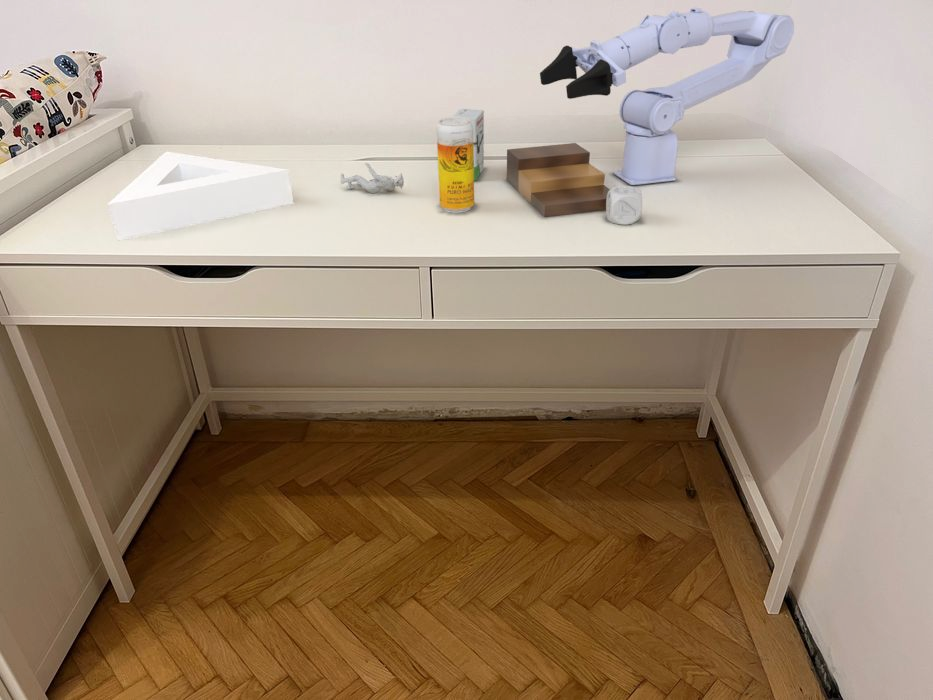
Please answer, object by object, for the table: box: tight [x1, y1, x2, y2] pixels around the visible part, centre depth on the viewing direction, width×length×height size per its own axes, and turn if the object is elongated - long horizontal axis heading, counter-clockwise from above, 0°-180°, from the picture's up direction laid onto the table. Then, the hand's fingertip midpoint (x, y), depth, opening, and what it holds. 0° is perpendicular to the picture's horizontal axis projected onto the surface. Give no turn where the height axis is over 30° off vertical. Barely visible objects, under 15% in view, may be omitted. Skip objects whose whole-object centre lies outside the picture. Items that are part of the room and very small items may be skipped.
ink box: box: [452, 108, 485, 181], centre depth 136 cm, size 9×5×12 cm, turn 168°
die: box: [605, 185, 643, 226], centre depth 115 cm, size 5×5×5 cm
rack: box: [506, 142, 611, 218], centre depth 126 cm, size 14×21×6 cm, turn 15°
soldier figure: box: [340, 162, 405, 194], centre depth 129 cm, size 8×5×12 cm
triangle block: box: [106, 151, 295, 242], centre depth 127 cm, size 30×26×6 cm
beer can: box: [436, 116, 475, 214], centre depth 118 cm, size 6×6×15 cm
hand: (554, 85), depth 116 cm, fingers open, 7 cm apart
